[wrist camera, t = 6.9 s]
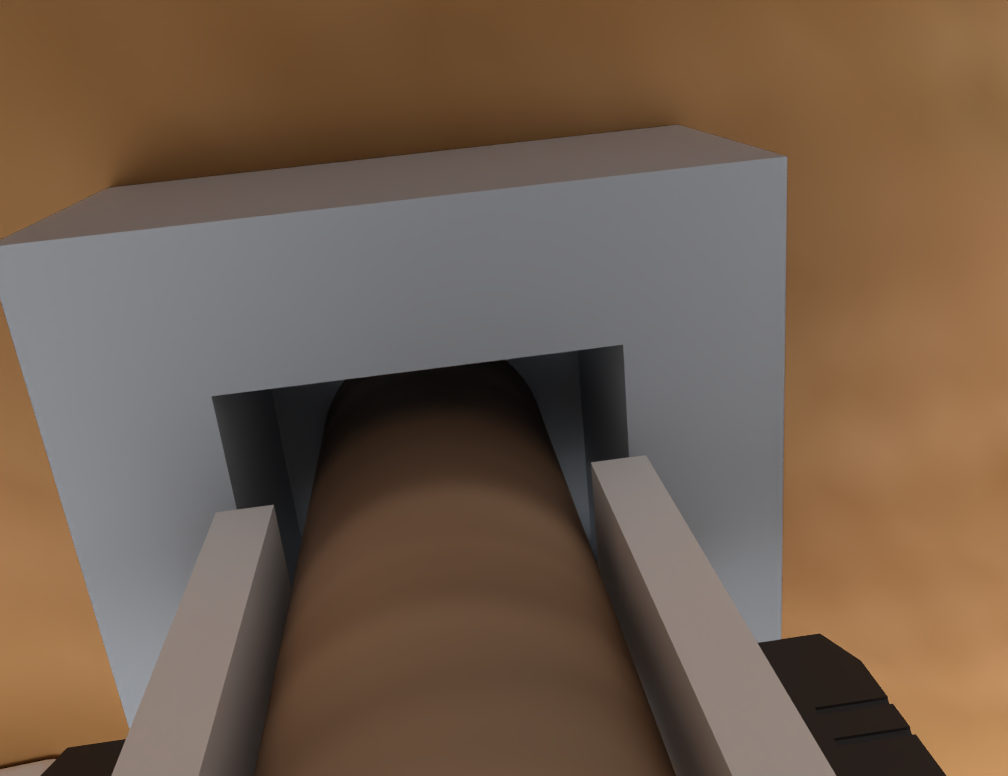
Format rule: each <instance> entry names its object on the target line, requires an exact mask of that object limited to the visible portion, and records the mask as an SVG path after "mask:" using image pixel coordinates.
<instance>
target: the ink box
mask: <svg viewBox="0 0 1008 776" xmlns="http://www.w3.org/2000/svg"><path fill="white" fill-rule="evenodd" d="M55 760H56V759H48V760H43V761H38V762H33V763H28V764H23V765H18V766H14V767H9V768H4V769H0V776H40V775H41V774H42V773H43V772H44V771H45V770H46V769H47V768H48V767H49V766H50V765H51V764H52V763H53V762H54V761H55Z"/></svg>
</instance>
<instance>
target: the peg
mask: <svg viewBox="0 0 1008 776" xmlns="http://www.w3.org/2000/svg"><path fill="white" fill-rule="evenodd" d="M254 776H676V775H675V772H674V769H673V767H672V764H671V761H670V758H669V756H668V753H667V750H666V748H665V745H664V742H663V740H662V737H661V734H660V732H659V729H658V726H657V724H656V721H655V718H654V716H653V713H652V710H651V708H650V705H649V702H648V700H647V697H646V694H645V691H644V689H643V686H642V683H641V681H640V678H639V675H638V673H637V670H636V667H635V665H634V662H633V659H632V657H631V654H630V651H629V649H628V646H627V643H626V641H625V638H624V635H623V633H622V630H621V627H620V624H619V622H618V619H617V616H616V614H615V611H614V608H613V606H612V603H611V600H610V598H609V595H608V592H607V590H606V587H605V584H604V582H603V579H602V576H601V574H600V571H599V568H598V566H597V563H596V560H595V558H594V555H593V552H592V549H591V547H590V544H589V541H588V539H587V536H586V533H585V531H584V528H583V525H582V523H581V520H580V517H579V515H578V512H577V509H576V507H575V504H574V501H573V499H572V496H571V493H570V491H569V488H568V485H567V482H566V480H565V477H564V474H563V472H562V469H561V466H560V464H559V461H558V458H557V456H556V453H555V450H554V448H553V445H552V442H551V440H550V437H549V434H548V432H547V429H546V426H545V424H544V421H543V418H542V416H541V413H540V410H539V407H538V405H537V402H536V400H535V398H534V396H533V393H532V391H531V389H530V388H529V386H528V385H527V383H526V382H525V380H524V379H523V377H522V376H521V375H520V374H519V373H518V372H517V370H516V369H515V368H514V367H513V366H512V365H510V364H509V363H508V362H507V361H506V360H497V361H489V362H481V363H473V364H465V365H457V366H449V367H441V368H433V369H425V370H417V371H409V372H401V373H393V374H385V375H377V376H369V377H361V378H353V379H345V380H344V382H343V383H342V384H341V386H340V387H339V389H338V390H337V392H336V394H335V396H334V398H333V400H332V402H331V405H330V408H329V411H328V414H327V419H326V424H325V429H324V434H323V438H322V443H321V448H320V453H319V458H318V463H317V468H316V473H315V478H314V483H313V488H312V493H311V497H310V502H309V507H308V512H307V517H306V522H305V527H304V532H303V537H302V542H301V547H300V552H299V556H298V561H297V566H296V571H295V576H294V581H293V586H292V591H291V596H290V601H289V606H288V611H287V615H286V620H285V625H284V630H283V635H282V640H281V645H280V650H279V655H278V660H277V665H276V670H275V674H274V679H273V684H272V689H271V694H270V699H269V704H268V709H267V714H266V719H265V724H264V729H263V734H262V738H261V743H260V748H259V753H258V758H257V763H256V768H255V773H254Z"/></svg>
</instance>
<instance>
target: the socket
mask: <svg viewBox="0 0 1008 776" xmlns="http://www.w3.org/2000/svg"><path fill="white" fill-rule="evenodd" d="M786 222H787V156H785V155H781V154H778V153H774V152H771V151H767V150H764V149H761V148H757V147H754V146H750V145H747V144H743V143H740V142H737V141H733V140H730V139H726V138H723V137H719V136H716V135H712V134H709V133H706V132H702V131H699V130H695V129H692V128H688V127H685V126H682V125H670V126H661V127H652V128H643V129H634V130H625V131H616V132H607V133H598V134H589V135H580V136H571V137H562V138H553V139H544V140H534V141H525V142H516V143H507V144H498V145H489V146H480V147H471V148H462V149H453V150H444V151H435V152H426V153H417V154H408V155H399V156H390V157H381V158H372V159H363V160H354V161H345V162H336V163H327V164H318V165H309V166H300V167H291V168H282V169H273V170H263V171H254V172H245V173H236V174H227V175H218V176H209V177H200V178H191V179H182V180H173V181H164V182H155V183H146V184H137V185H128V186H119V187H110V188H106V189H104V190H102V191H100V192H98V193H96V194H94V195H92V196H90V197H87V198H85V199H83V200H81V201H79V202H77V203H75V204H73V205H71V206H69V207H67V208H65V209H63V210H61V211H59V212H57V213H55V214H53V215H51V216H48V217H46V218H44V219H42V220H40V221H38V222H36V223H34V224H32V225H30V226H28V227H26V228H24V229H22V230H20V231H18V232H16V233H14V234H12V235H10V236H7V237H5V238H3V239H1V240H0V300H1V303H2V306H3V310H4V313H5V316H6V320H7V323H8V326H9V330H10V333H11V336H12V340H13V343H14V346H15V350H16V353H17V356H18V360H19V363H20V366H21V370H22V373H23V376H24V380H25V383H26V386H27V390H28V393H29V396H30V400H31V403H32V406H33V410H34V413H35V416H36V420H37V423H38V426H39V430H40V433H41V436H42V440H43V443H44V446H45V450H46V453H47V456H48V460H49V463H50V466H51V470H52V473H53V476H54V480H55V483H56V486H57V490H58V493H59V496H60V500H61V503H62V506H63V510H64V513H65V516H66V519H67V523H68V526H69V529H70V533H71V536H72V539H73V543H74V546H75V549H76V553H77V556H78V559H79V563H80V566H81V569H82V573H83V576H84V579H85V583H86V586H87V589H88V593H89V596H90V599H91V603H92V606H93V609H94V613H95V616H96V619H97V623H98V626H99V629H100V633H101V636H102V639H103V643H104V646H105V649H106V653H107V656H108V659H109V663H110V666H111V669H112V673H113V676H114V679H115V683H116V686H117V689H118V693H119V696H120V699H121V703H122V706H123V709H124V713H125V716H126V719H127V723H128V726H129V729H130V728H131V725H132V723H133V720H134V718H135V715H136V712H137V710H138V707H139V705H140V702H141V700H142V697H143V695H144V692H145V690H146V687H147V685H148V682H149V680H150V677H151V675H152V672H153V670H154V667H155V665H156V662H157V660H158V657H159V655H160V652H161V649H162V647H163V644H164V642H165V639H166V637H167V634H168V632H169V629H170V627H171V624H172V622H173V619H174V617H175V614H176V612H177V609H178V607H179V604H180V602H181V599H182V597H183V594H184V591H185V589H186V586H187V584H188V581H189V579H190V576H191V574H192V571H193V569H194V566H195V564H196V561H197V559H198V556H199V554H200V551H201V549H202V546H203V544H204V541H205V539H206V536H207V533H208V531H209V528H210V526H211V523H212V521H213V518H214V516H215V513H216V512H222V511H230V510H237V509H245V508H252V507H260V506H267V505H274V508H275V513H276V518H277V522H278V527H279V532H280V537H281V542H282V546H283V551H284V556H285V561H286V566H287V570H288V575H289V580H290V585H291V590H292V586H293V581H294V576H295V571H296V566H297V561H298V556H299V552H300V547H301V542H302V537H303V532H304V527H305V522H306V517H307V512H308V507H309V502H310V497H311V493H312V488H313V483H314V478H315V473H316V468H317V463H318V458H319V453H320V448H321V443H322V438H323V434H324V429H325V424H326V419H327V414H328V411H329V408H330V405H331V402H332V400H333V398H334V396H335V394H336V392H337V390H338V389H339V387H340V386H341V384H342V383H343V382H344V380H345V379H353V378H361V377H369V376H377V375H385V374H393V373H401V372H409V371H417V370H425V369H433V368H441V367H449V366H457V365H465V364H473V363H481V362H489V361H497V360H506V361H507V362H508V363H509V364H510V365H512V366H513V367H514V368H515V369H516V370H517V372H518V373H519V374H520V375H521V376H522V377H523V379H524V380H525V382H526V383H527V385H528V386H529V388H530V389H531V391H532V393H533V396H534V398H535V400H536V402H537V405H538V407H539V410H540V413H541V416H542V418H543V421H544V424H545V426H546V429H547V432H548V434H549V437H550V440H551V442H552V445H553V448H554V450H555V453H556V456H557V458H558V461H559V464H560V466H561V469H562V472H563V474H564V477H565V480H566V482H567V485H568V488H569V491H570V493H571V496H572V499H573V501H574V504H575V507H576V509H577V512H578V515H579V517H580V520H581V523H582V525H583V528H584V531H585V533H586V536H587V539H588V541H589V544H590V547H591V549H592V552H593V555H594V558H595V560H596V563H597V566H598V558H597V543H596V529H595V515H594V500H593V486H592V471H591V462H598V461H605V460H613V459H620V458H628V457H635V456H643V455H646V456H647V458H648V459H649V461H650V463H651V464H652V466H653V468H654V470H655V471H656V473H657V475H658V476H659V478H660V480H661V481H662V483H663V485H664V486H665V488H666V490H667V491H668V493H669V495H670V496H671V498H672V500H673V502H674V503H675V505H676V507H677V508H678V510H679V512H680V513H681V515H682V517H683V518H684V520H685V522H686V523H687V525H688V527H689V528H690V530H691V532H692V534H693V535H694V537H695V539H696V540H697V542H698V544H699V545H700V547H701V549H702V550H703V552H704V554H705V555H706V557H707V559H708V560H709V562H710V564H711V566H712V567H713V569H714V571H715V572H716V574H717V576H718V577H719V579H720V581H721V582H722V584H723V586H724V587H725V589H726V591H727V593H728V594H729V596H730V598H731V599H732V601H733V603H734V604H735V606H736V608H737V609H738V611H739V613H740V614H741V616H742V618H743V619H744V621H745V623H746V625H747V626H748V628H749V630H750V631H751V633H752V635H753V636H754V638H755V640H756V641H757V643H760V642H766V641H773V640H780V639H781V615H782V536H783V458H784V379H785V301H786Z"/></svg>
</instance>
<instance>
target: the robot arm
mask: <svg viewBox="0 0 1008 776" xmlns="http://www.w3.org/2000/svg"><path fill="white" fill-rule="evenodd" d="M591 471H592V486H593V500H594V515H595V529H596V543H597V558H598V568H599V571H600V574H601V576H602V579H603V582H604V584H605V587H606V590H607V592H608V595H609V598H610V600H611V603H612V606H613V608H614V611H615V614H616V616H617V619H618V622H619V624H620V627H621V630H622V633H623V635H624V638H625V641H626V643H627V646H628V649H629V651H630V654H631V657H632V659H633V662H634V665H635V667H636V670H637V673H638V675H639V678H640V681H641V683H642V686H643V689H644V691H645V694H646V697H647V700H648V702H649V705H650V708H651V710H652V713H653V716H654V718H655V721H656V724H657V726H658V729H659V732H660V734H661V737H662V740H663V742H664V745H665V748H666V750H667V753H668V756H669V758H670V761H671V764H672V767H673V769H674V772H675V775H676V776H946V775H945V773H944V772H943V771H942V769H941V768H940V767H939V765H938V764H937V763H936V761H935V760H934V758H933V757H932V756H931V754H930V753H929V752H928V750H927V749H926V748H925V746H924V745H923V744H922V742H921V741H920V740H919V738H918V737H917V736H916V735H912V733H911V731H910V726H909V725H908V724H907V722H906V721H905V719H904V718H903V717H902V715H901V714H900V713H899V711H898V710H897V709H896V707H895V706H894V705H893V704H889V702H888V697H887V695H886V694H885V693H884V691H883V690H882V689H881V687H880V686H879V685H878V683H877V682H876V681H875V679H874V678H873V676H872V675H871V674H870V672H869V671H868V670H867V668H866V667H865V666H864V664H863V663H862V662H861V661H860V660H859V659H857V658H856V657H854V656H853V655H851V654H850V653H848V652H847V651H845V650H844V649H842V648H841V647H839V646H838V645H836V644H835V643H833V642H832V641H830V640H829V639H827V638H826V637H824V636H823V635H821V634H814V635H807V636H800V637H794V638H787V639H780V640H773V641H766V642H760V643H757V641H756V640H755V638H754V636H753V635H752V633H751V631H750V630H749V628H748V626H747V625H746V623H745V621H744V619H743V618H742V616H741V614H740V613H739V611H738V609H737V608H736V606H735V604H734V603H733V601H732V599H731V598H730V596H729V594H728V593H727V591H726V589H725V587H724V586H723V584H722V582H721V581H720V579H719V577H718V576H717V574H716V572H715V571H714V569H713V567H712V566H711V564H710V562H709V560H708V559H707V557H706V555H705V554H704V552H703V550H702V549H701V547H700V545H699V544H698V542H697V540H696V539H695V537H694V535H693V534H692V532H691V530H690V528H689V527H688V525H687V523H686V522H685V520H684V518H683V517H682V515H681V513H680V512H679V510H678V508H677V507H676V505H675V503H674V502H673V500H672V498H671V496H670V495H669V493H668V491H667V490H666V488H665V486H664V485H663V483H662V481H661V480H660V478H659V476H658V475H657V473H656V471H655V470H654V468H653V466H652V464H651V463H650V461H649V459H648V458H647V456H646V455H643V456H635V457H628V458H620V459H613V460H605V461H598V462H591ZM291 591H292V590H291V585H290V580H289V575H288V570H287V566H286V561H285V556H284V551H283V546H282V542H281V537H280V532H279V527H278V522H277V518H276V513H275V508H274V505H267V506H260V507H252V508H245V509H237V510H230V511H222V512H216V513H215V516H214V518H213V521H212V523H211V526H210V528H209V531H208V533H207V536H206V539H205V541H204V544H203V546H202V549H201V551H200V554H199V556H198V559H197V561H196V564H195V566H194V569H193V571H192V574H191V576H190V579H189V581H188V584H187V586H186V589H185V591H184V594H183V597H182V599H181V602H180V604H179V607H178V609H177V612H176V614H175V617H174V619H173V622H172V624H171V627H170V629H169V632H168V634H167V637H166V639H165V642H164V644H163V647H162V649H161V652H160V655H159V657H158V660H157V662H156V665H155V667H154V670H153V672H152V675H151V677H150V680H149V682H148V685H147V687H146V690H145V692H144V695H143V697H142V700H141V702H140V705H139V707H138V710H137V712H136V715H135V718H134V720H133V723H132V725H131V728H130V730H129V733H128V735H127V738H126V739H124V740H117V741H110V742H103V743H97V744H90V745H83V746H76V747H70V748H67V749H66V750H65V751H64V752H63V753H62V754H61V755H60V756H59V757H58V758H57V759H56V760H55V761H54V762H53V763H52V764H51V765H50V766H49V767H48V768H47V769H46V770H45V771H44V772H43V773H42V774H41V775H40V776H254V773H255V768H256V763H257V758H258V753H259V748H260V743H261V738H262V734H263V729H264V724H265V719H266V714H267V709H268V704H269V699H270V694H271V689H272V684H273V679H274V674H275V670H276V665H277V660H278V655H279V650H280V645H281V640H282V635H283V630H284V625H285V620H286V615H287V611H288V606H289V601H290V596H291Z"/></svg>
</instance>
